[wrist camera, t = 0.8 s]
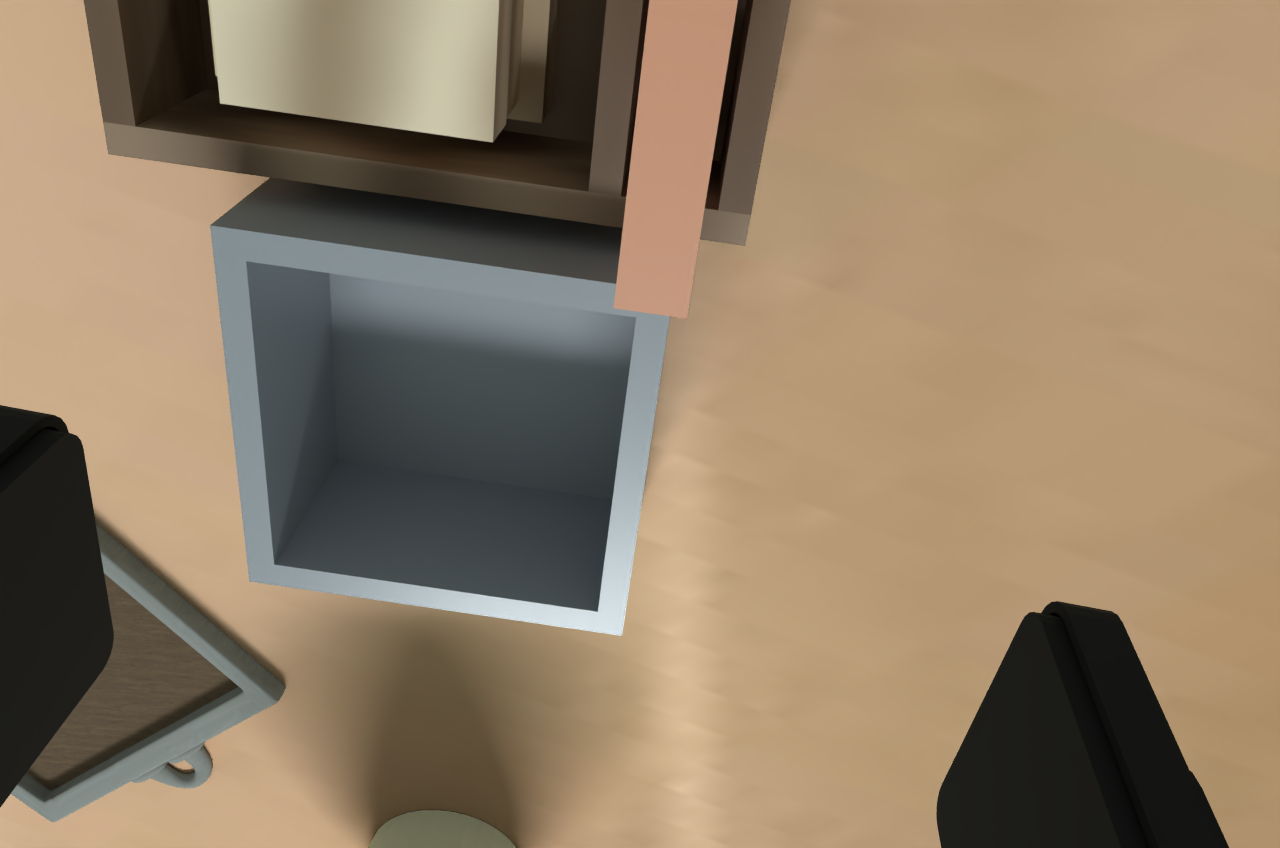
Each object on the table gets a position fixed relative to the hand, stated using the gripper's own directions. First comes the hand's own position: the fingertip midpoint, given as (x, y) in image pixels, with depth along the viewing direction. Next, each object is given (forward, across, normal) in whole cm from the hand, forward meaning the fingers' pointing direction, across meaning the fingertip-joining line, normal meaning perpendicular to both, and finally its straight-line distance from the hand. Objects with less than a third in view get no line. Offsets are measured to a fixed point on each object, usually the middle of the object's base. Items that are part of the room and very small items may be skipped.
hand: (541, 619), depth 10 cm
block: (+27, 0, -2) cm, 27 cm away
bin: (+28, +6, +13) cm, 31 cm away
